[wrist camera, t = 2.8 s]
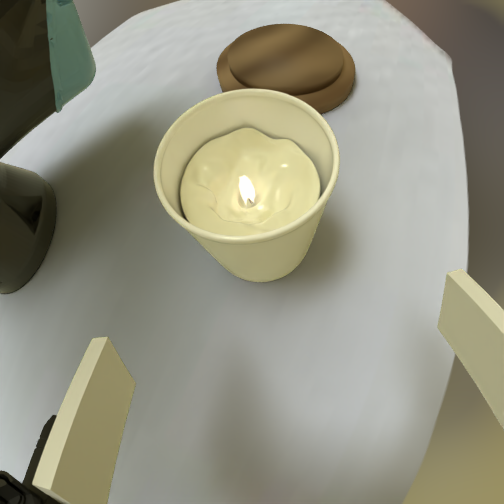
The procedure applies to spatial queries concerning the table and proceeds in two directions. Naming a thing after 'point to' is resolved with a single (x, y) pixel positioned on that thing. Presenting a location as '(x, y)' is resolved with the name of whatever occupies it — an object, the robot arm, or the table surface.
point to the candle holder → (249, 178)
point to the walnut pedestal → (289, 65)
